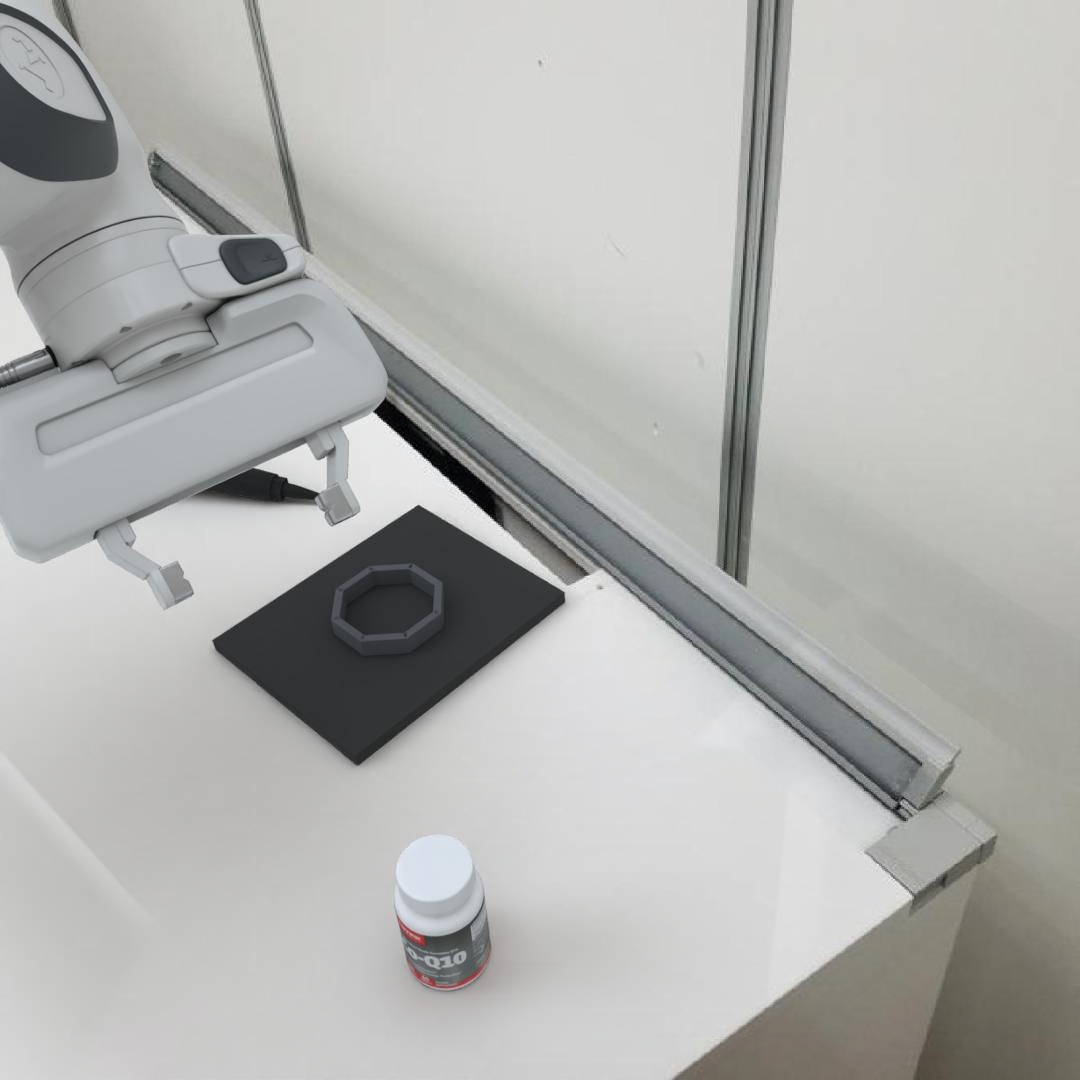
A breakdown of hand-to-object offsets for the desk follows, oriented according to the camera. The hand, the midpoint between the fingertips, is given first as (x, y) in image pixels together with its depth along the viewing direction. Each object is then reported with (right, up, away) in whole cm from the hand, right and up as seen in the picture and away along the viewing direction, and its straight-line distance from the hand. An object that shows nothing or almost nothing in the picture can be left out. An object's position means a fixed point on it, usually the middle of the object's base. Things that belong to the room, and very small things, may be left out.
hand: (265, 559), depth 58 cm
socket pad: (+3, -5, +26) cm, 27 cm away
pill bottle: (+9, -22, +6) cm, 25 cm away
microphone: (-14, +5, +39) cm, 42 cm away
